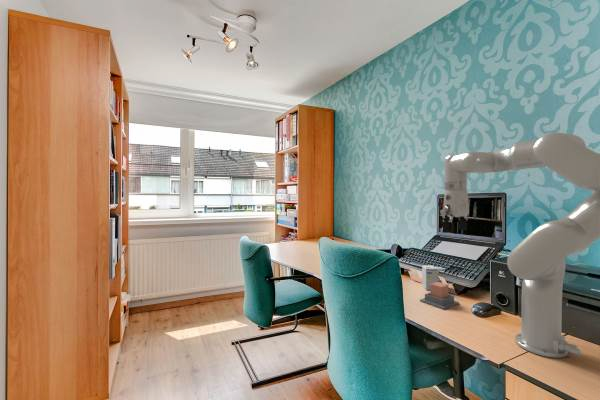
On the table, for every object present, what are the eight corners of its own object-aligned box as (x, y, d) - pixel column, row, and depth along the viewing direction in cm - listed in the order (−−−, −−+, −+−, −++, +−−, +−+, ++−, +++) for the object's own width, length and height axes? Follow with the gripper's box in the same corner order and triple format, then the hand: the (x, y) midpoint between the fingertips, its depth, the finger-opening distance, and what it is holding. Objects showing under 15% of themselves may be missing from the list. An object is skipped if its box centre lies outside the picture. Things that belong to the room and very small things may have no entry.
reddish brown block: (448, 301, 126) (448, 284, 126) (441, 303, 123) (441, 287, 123) (437, 297, 130) (437, 281, 130) (430, 300, 127) (430, 284, 127)
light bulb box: (443, 286, 148) (443, 264, 147) (449, 290, 141) (449, 268, 140) (421, 286, 149) (421, 264, 148) (425, 290, 142) (425, 268, 142)
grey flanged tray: (459, 303, 125) (459, 296, 125) (443, 309, 119) (443, 301, 119) (435, 296, 134) (435, 289, 134) (419, 301, 128) (419, 293, 128)
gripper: (451, 187, 106) (451, 234, 107) (477, 186, 115) (477, 230, 116) (432, 187, 112) (432, 232, 113) (458, 186, 122) (458, 228, 122)
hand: (455, 231), depth 114 cm, fingers open, 9 cm apart
